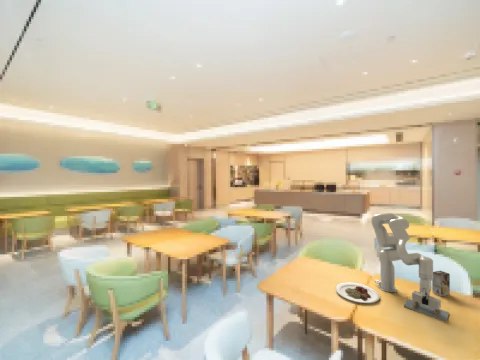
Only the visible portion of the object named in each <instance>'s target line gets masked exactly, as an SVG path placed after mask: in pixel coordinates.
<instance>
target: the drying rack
mask: <svg viewBox="0 0 480 360" xmlns="http://www.w3.org/2000/svg"><path fill="white" fill-rule="evenodd" d="M403 307H404V308H406V309H409V310H410V311H414V312H418V313H420V314H423V315H426V316H429V317H432V318H434V319H437V320H440V321H443V322H446V323H447V322H448V318H449V315H450V312H449V311H447V310H444V309H441V308H439V309H438V310H437V309H434V308H432V307H429V306H427V305H424V304H421V303H419V302H416V301H414V300H412V299H410V298H407V300H406V301H405V303H404V304H403Z"/></svg>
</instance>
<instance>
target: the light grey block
mask: <svg viewBox="0 0 480 360" xmlns="http://www.w3.org/2000/svg"><path fill="white" fill-rule="evenodd" d="M425 296H426V295H425ZM411 300H414V301H416V302H419V303H421V304H422V293H420V292H419V291H418V290H414V291H412V293H411ZM424 305H425V304H424ZM441 305H442V299H440V298H436V297H434V296H432V295H428V305H427V306H429V307H432V308H434V309H437V310H438V309H441Z"/></svg>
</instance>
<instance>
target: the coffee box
mask: <svg viewBox="0 0 480 360" xmlns="http://www.w3.org/2000/svg"><path fill="white" fill-rule="evenodd" d="M450 276H451V275H450V273H449V272H445V271H442V270H436V271H433V280H432V281H431V292H432V293H433V294H435V295H437V296H439V297H444V296H449V295H450V294H451V292H450V291H451V289H450V288H451V283H450V278H451V277H450Z"/></svg>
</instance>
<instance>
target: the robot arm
mask: <svg viewBox="0 0 480 360" xmlns="http://www.w3.org/2000/svg"><path fill="white" fill-rule="evenodd" d="M371 225H372V228H373V229H374V234H375V237H376V241H377V243H378V244H377V245H378V247H381V248H386V249H382V250H380V251H379V252H378V258H379V262H380V263H379V264H380V266H379V267H380V274H379V275H380V279H379V280H378V279H374V282H375V284H378V286H377V287H378V288H379V289H380V290H381V291H384V292H386V293H396V292H398V288H397V287H396V286H395V285H396V283H395V282H396V281H395V278H396V277H395V272H396V269H395V265H394V264H393V262H397V261H402V263H403V264H404V265H406V266H415V265H416V266H418V278H419V291H418V292H420V293H422V304H425V305H428V295H429V296H431V295H430V293H431V292H432V280H433V272H434V260H433V259H432V258H431V257H429V256H424V255H423V254H421V253H419V252H413V253H412V252H411V253H408V251H407V249H406V244H407V242H408V241H409V240H410V238H411V237H410V235H409V233H408V232H407V229H409V227H410V223H409V221H408V220H407V219H406V218H405V217H403V216H400V215H397V214H395V213H392V212H385V213H383V212H382V213H376V214H374V215H373V216H372V217H371ZM385 225H388V227H389V229H390V230H391V232H392V234H388V230H387V228H386V227H385ZM425 295H426V296H425Z"/></svg>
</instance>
